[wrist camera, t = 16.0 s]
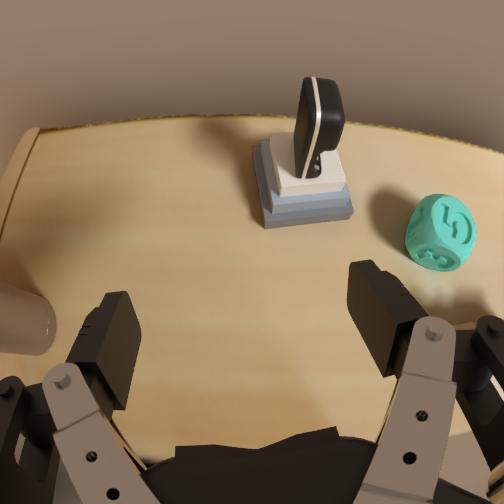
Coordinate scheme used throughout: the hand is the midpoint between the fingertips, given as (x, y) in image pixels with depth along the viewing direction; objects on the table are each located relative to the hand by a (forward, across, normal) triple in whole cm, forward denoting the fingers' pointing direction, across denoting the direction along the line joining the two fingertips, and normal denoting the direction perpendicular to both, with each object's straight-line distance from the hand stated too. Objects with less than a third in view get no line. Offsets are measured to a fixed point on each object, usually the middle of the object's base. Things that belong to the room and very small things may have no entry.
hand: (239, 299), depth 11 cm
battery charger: (+29, -10, +1) cm, 31 cm away
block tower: (+34, -10, +6) cm, 36 cm away
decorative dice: (+27, -28, +14) cm, 41 cm away
